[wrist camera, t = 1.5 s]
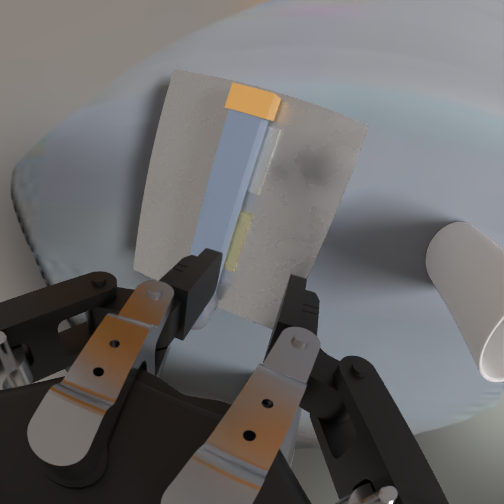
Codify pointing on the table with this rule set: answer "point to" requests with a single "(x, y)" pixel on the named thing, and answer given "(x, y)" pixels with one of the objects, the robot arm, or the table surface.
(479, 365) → the cup
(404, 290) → the table surface
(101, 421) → the robot arm
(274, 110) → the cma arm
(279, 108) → the chassis
